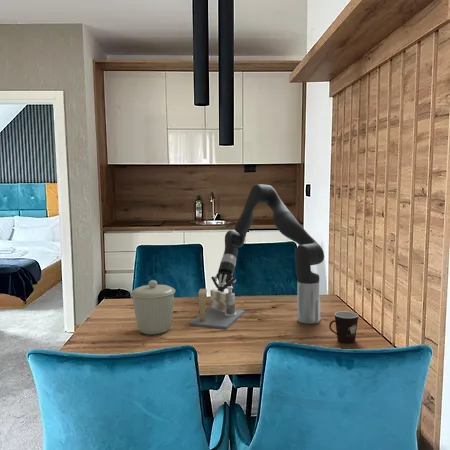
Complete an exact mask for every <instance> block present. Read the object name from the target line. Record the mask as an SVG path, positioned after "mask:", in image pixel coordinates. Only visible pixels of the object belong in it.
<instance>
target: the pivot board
mask: <svg viewBox="0 0 450 450" xmlns="http://www.w3.org/2000/svg"><path fill="white" fill-rule="evenodd" d="M226 289H227V293H229V294H231V293H233V289H234V286H233V285H232V286H228V287H227V288H226ZM205 310H206V320H205V321H200V314H199V315H198V316H197V317H195V318H194V319H193V320H191V321H190V322H189V324H188V325H189V326H193V327H203V328H212V329H220V330H221V329H222V330H227V329H229V328H230V327H231V326H232V325H233V324H234V323H235V322H236V321H238V319H239V318H240V317H242V315H243V314H245V312H246V311H245V309H244V310H243V309H236V308H235V313H234V314H227V313H226V312H225V311H222V310H219V309H216V308H213V307H211V306H210V307H208V309H205Z"/></svg>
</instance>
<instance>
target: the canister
mask: <svg viewBox="0 0 450 450" xmlns="http://www.w3.org/2000/svg"><path fill="white" fill-rule="evenodd" d="M175 293H176V289H175V288H174V287H172V286H170V285H167V284H158V282H157V280H156V279H155V280H154V279H152V280H149V281H148V284H146V285H142V286H139V287H136V288H134V289H133V290H132V291H131V292H130V296H131V297H132V303H133V309H134V315H135V321H136V326H137V329H138V331H139V332H140V333H142V334H144V335H160V334H163V333H166V332H168V331H169V330H170V329H171V326H172V322H173V313H174V300H175V298H174V296H175V295H174V294H175Z"/></svg>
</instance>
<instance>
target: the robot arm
mask: <svg viewBox="0 0 450 450" xmlns="http://www.w3.org/2000/svg"><path fill="white" fill-rule="evenodd" d="M258 204H260V205H261V204H262V205H264V204H265V205H267V206H268V208H270V210H271V211H272V221H273V224H274V226H275V227H276V228H277V230H278V231H279V232H280V234H281V235H283V236H284V237H286V238H287V239H289V240H291V241H292V242H295V243H296V244H297V245H298V246H297V247H296V248H295V251H294V263H295V265H294V266H295V276H296V279H297V283H296V284H297V321H298V322H299V323H302V324H307V325H308V324H309V325H310V324H319V322H321V321H320V320H321V298H320V275H319V274H318V273H316V272H313V271H312V269H311V267H312V266H315V265H319V264H321V263H323V261H324V260H325V253H324V252H325V251H324V250H323V248H322V246H321V245H320V244H319V242H317V241H316V240H315V238H314V237H312V236H311V235H310V234H309V232H307V231H306V230H305V228H304V227H303V226H302V225H301V224H300V223H299V221H298V220H297V219H296V217H295V216H294V215H293V213H292V212H291V211H290V209H288V207H287V205H285V203H284V202H283V201H282V199H281V197H280V196H279V194H278V192H277V191H276V190H275V188H274V187H273V186H272V185H269V184H262V183H261V184H259V183H258V184H254V185H253V186H252V187H251V189H250V191H249V193H248V196H247V199H246V201H245V203H244V207H243V209H242V212H241V214H240V216H239V218H238V219H237V222H236V223H235V225H234V230H228V231H227V232H226V233H225V235H224V251H223V255H222V257H221V261H220V264H219V267H218V270H217V273H216V275H215V276H211V278H210V279H211V280H212V282H213V284H214V285H215V288H216V289H217V290H218V291H221V292H225V290H226V289H227V287H228V286H232V287H233V285H234V284H236V283H237V279H236V278H235V277H234V272H235V269H236V264H237V260H238V259H237V258H238V256H239V248H241V247H243V246H244V244H245V240H246V237H247V233H248V231H249V230H250V228H251V226H252V224H253V222H254V209H255V207H256V206H257V205H258ZM217 280H218V283H217Z"/></svg>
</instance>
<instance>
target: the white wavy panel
mask: <svg viewBox="0 0 450 450" xmlns="http://www.w3.org/2000/svg"><path fill="white" fill-rule="evenodd" d="M209 293H210V307H212V308H216V309H219V310H222V311H225V312H226V313H227V314H234V313H235V309H236V296H235V295H236V294H235V293H234V292H232V293H231V294H229V293H228V292H225V291H224V292H221V291H218V289H214V288H213V289H210V291H209Z"/></svg>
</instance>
